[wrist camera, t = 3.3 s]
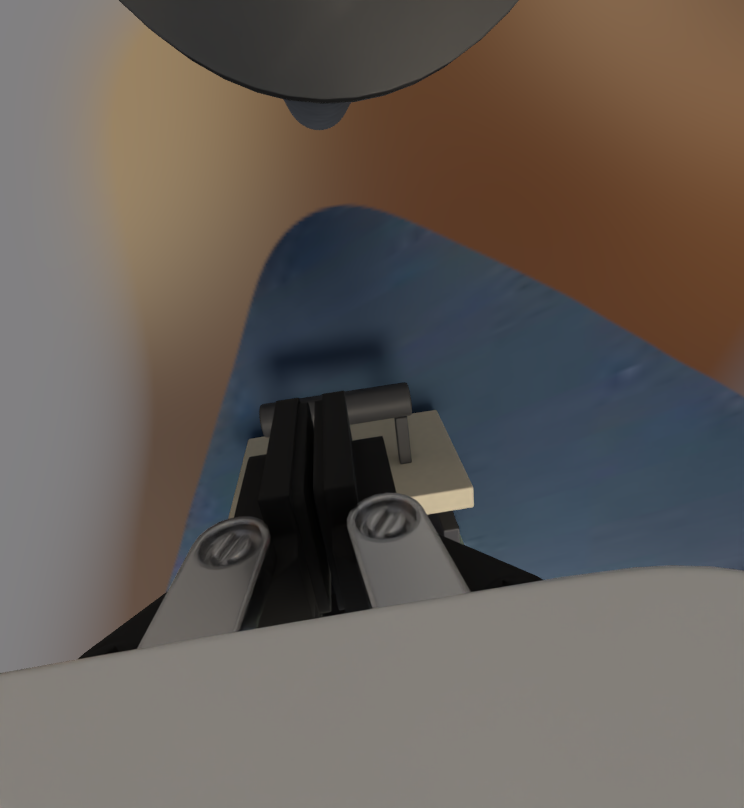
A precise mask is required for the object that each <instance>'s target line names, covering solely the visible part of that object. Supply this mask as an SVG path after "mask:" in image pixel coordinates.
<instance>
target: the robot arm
mask: <svg viewBox="0 0 744 808" xmlns="http://www.w3.org/2000/svg"><path fill="white" fill-rule="evenodd" d="M331 577H332V582H333V587H334V591H335V596H336V600H337V605H338V609H339V610H344V609H345V612H346V613H345V614H339V615H333V616H327V617H322V613H327V612H331ZM0 808H744V571H743V570H735V569H727V568H719V567H711V566H676V565H669V566H652V567H635V568H627V569H619V570H612V571H604V572H597V573H589V574H582V575H574V576H567V577H560V578H554V579H548V580H543V579H541V578H539V577H537V576H535V575H533V574H531V573H528V572H526V571H524V570H521V569H519V568H517V567H514V566H512V565H510V564H507V563H505V562H503V561H500V560H498V559H496V558H493V557H491V556H489V555H486V554H484V553H482V552H479V551H477V550H475V549H472V548H470V547H468V546H465V545H463V544H461V543H458V542H456V541H454V540H451V539H449V538H447V537H444V536H442V535H440V534H438V533H437V531H436V530H435V528H434V526H433V524H432V523H431V521H430V519H429V517H428V516H427V514H426V512H425V510H424V508H423V507H422V506H421V505H420V503H419V502H418V501H417V500H415V499H413V498H411V497H410V496H407V495H403V494H399V493H396V489H395V485H394V480H393V476H392V472H391V468H390V464H389V460H388V456H387V451H386V447H385V443H384V439H383V436H378V437H372V438H365V439H359V440H353V441H352V435H351V429H350V423H349V417H348V411H347V405H346V399H345V393H344V391H339V392H332V393H326V394H322V400H318V401H315V408H314V426H313V421H312V416H311V411H310V407H309V403H308V402H305V403H301V402H300V399H299V398H294V399H287V400H281V401H276V405H275V410H274V416H273V421H272V426H271V432H270V437H269V443H268V448H267V453H266V454H264V455H258V456H251V457H249V459H248V462H247V466H246V470H245V474H244V478H243V482H242V486H241V490H240V494H239V498H238V502H237V506H236V511H235V515H234V518H230V519H227V520H224V521H221V522H219V523H217V524H215V525H213V526H212V527H210V528H208V529H207V530H206V531H205V532H203V533H202V534H201V535H200V536H199V537H198V538H197V539H196V541H195V542H194V544H193V545H192V547H191V549H190V550H189V552H188V554H187V556H186V558H185V560H184V562H183V564H182V565H181V567H180V569H179V571H178V573H177V575H176V577H175V579H174V580H173V582H172V584H171V586H170V588H169V590H168V592H166V593H165V594H163V595H162V596H161V597H160V598H158V599H157V600H155V601H154V602H153V603H151V604H150V605H149V606H147V607H146V608H145V609H143V610H142V611H141V612H139V613H138V614H137V615H135V616H134V617H133V618H131V619H130V620H129V621H127V622H126V623H124V624H123V625H122V626H120V627H119V628H118V629H116V630H115V631H114V632H112V633H111V634H110V635H108V636H107V637H106V638H104V639H103V640H102V641H100V642H99V643H97V644H96V645H95V646H93V647H92V648H91V649H89V650H88V651H87V652H85V653H84V654H83V655H82V656H81V657H80V658H79V659H77V660H72V661H66V662H60V663H55V664H49V665H43V666H38V667H32V668H26V669H21V670H15V671H9V672H4V673H0Z"/></svg>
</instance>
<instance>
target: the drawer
mask: <svg viewBox="0 0 744 808" xmlns="http://www.w3.org/2000/svg"><path fill="white" fill-rule="evenodd" d="M344 393H345V399H346V405H347V411H348V417H349V423H350V429H351V435H352V441H353V440H359V439H365V438H372V437H378V436H383V439H384V443H385V447H386V451H387V456H388V460H389V464H390V468H391V472H392V476H393V480H394V485H395V489H396V493H399V494H403V495H407V496H410V497H411V498H413V499H415V500H417V501H418V502H419V503H420V505H421V506H422V507H423V508H424V510H425V512H426V514H427V516H428V517H429V519H430V521H431V523H432V524H433V526H434V528H435V530H436V531H437V533H438V534H440V535H442V536H444V537H447V538H449V539H451V540H454V541H456V542H458V543H460V534H459V526H458V524H457V521H456V519H455V516H454V513H453V511H452V510H458V509H464V508H471V507H473V506H474V495H473V486H472V484H471V482H470V480H469V478H468V475H467V473H466V471H465V469H464V467H463V465H462V463H461V461H460V459H459V457H458V454H457V452H456V450H455V448H454V446H453V444H452V442H451V440H450V438H449V436H448V433H447V431H446V429H445V427H444V425H443V423H442V421H441V419H440V417H439V415H438V412H437V411H436V410H432V411H426V412H419V413H413V414H412V404H411V397H410V391H409V387H408V385H407V383H405V382H404V383H398V384H391V385H385V386H378V387H372V388H365V389H359V390H352V391H346V392H344ZM318 400H322V395H320V396H313V397H307V398H300V402H301V403H305V402H308V403H309V407H310V411H311V416H312V421H313V426H314V408H315V401H318ZM275 405H276V402H274V403H268V404H262V405H261V406H260V410H259V415H260V424H261V428H262V432H263V434H264V436H265V437H259V438H252V439H249V440H248V443H247V447H246V451H245V455H244V459H243V463H242V467H241V471H240V475H239V479H238V483H237V487H236V491H235V495H234V499H233V502H232V506H231V510H230V514H229V518H228V519H230V518H234V515H235V511H236V506H237V502H238V498H239V494H240V490H241V486H242V482H243V478H244V474H245V470H246V466H247V462H248V459H249V457H251V456H258V455H264V454H266V453H267V448H268V443H269V437H270V432H271V426H272V421H273V416H274V410H275ZM345 613H346V612H345V609H344V610H339V609H338V605H337V600H336V596H335V591H334V587H333V582H332V577H331V612H327V613H322V617H327V616H333V615H339V614H345Z"/></svg>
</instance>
